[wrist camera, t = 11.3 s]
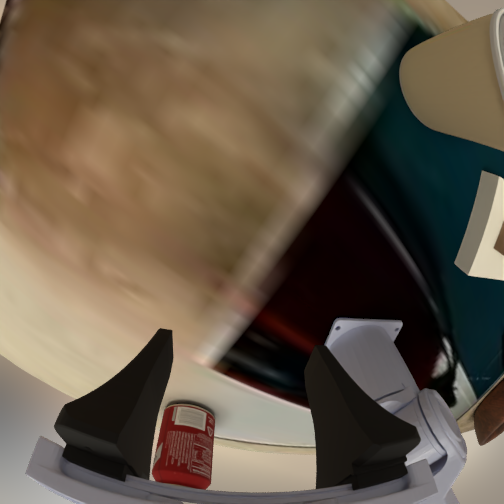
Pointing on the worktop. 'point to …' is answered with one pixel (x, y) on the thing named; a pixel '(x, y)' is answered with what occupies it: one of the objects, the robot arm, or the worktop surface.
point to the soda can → (185, 447)
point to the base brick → (484, 231)
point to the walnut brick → (500, 241)
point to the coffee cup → (460, 81)
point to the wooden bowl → (490, 416)
